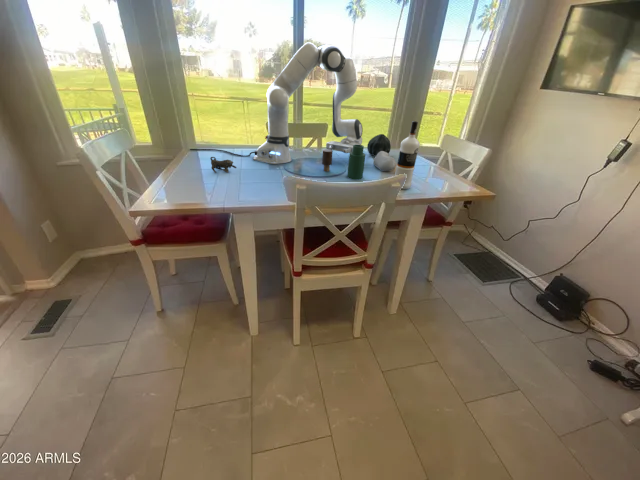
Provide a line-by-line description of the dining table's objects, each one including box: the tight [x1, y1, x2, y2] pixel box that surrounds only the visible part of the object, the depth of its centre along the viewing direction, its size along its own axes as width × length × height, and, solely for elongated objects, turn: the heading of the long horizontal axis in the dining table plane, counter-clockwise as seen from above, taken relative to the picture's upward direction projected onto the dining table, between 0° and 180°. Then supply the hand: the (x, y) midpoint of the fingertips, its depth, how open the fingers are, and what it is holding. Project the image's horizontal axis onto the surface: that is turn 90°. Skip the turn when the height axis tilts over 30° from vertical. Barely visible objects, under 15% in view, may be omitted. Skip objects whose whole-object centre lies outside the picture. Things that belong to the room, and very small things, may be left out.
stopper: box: [321, 148, 334, 173], centre depth 147 cm, size 5×5×11 cm
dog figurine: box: [209, 156, 237, 174], centre depth 139 cm, size 12×6×7 cm, turn 94°
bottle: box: [346, 144, 366, 181], centre depth 139 cm, size 8×8×16 cm
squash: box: [366, 133, 392, 157], centre depth 177 cm, size 14×15×15 cm
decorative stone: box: [372, 151, 396, 172], centre depth 156 cm, size 17×10×10 cm
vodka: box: [394, 120, 421, 190], centre depth 126 cm, size 9×9×30 cm
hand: (337, 150), depth 153 cm, fingers open, 8 cm apart
